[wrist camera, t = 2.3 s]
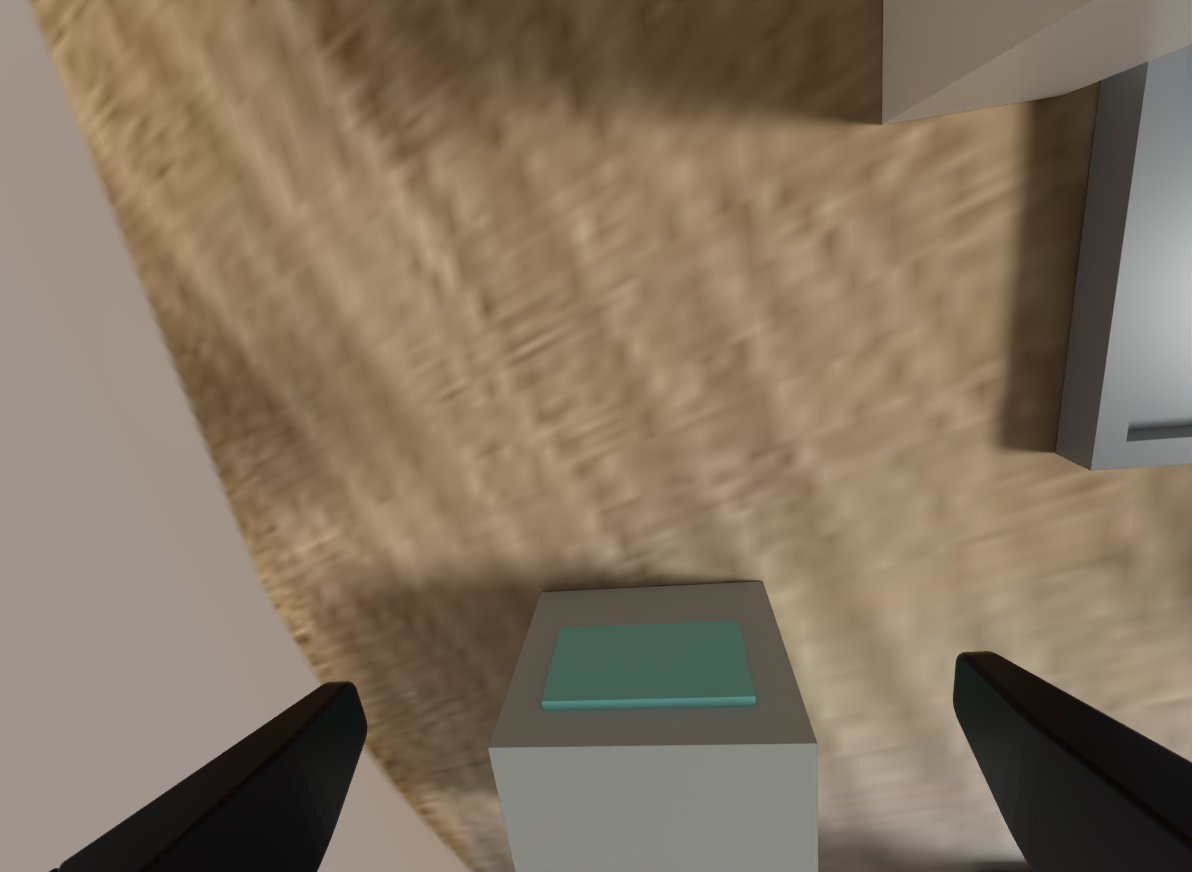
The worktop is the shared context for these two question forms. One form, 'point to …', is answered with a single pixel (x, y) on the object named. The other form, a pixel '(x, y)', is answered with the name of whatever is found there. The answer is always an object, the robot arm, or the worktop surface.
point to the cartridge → (1015, 49)
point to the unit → (656, 736)
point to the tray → (1134, 278)
